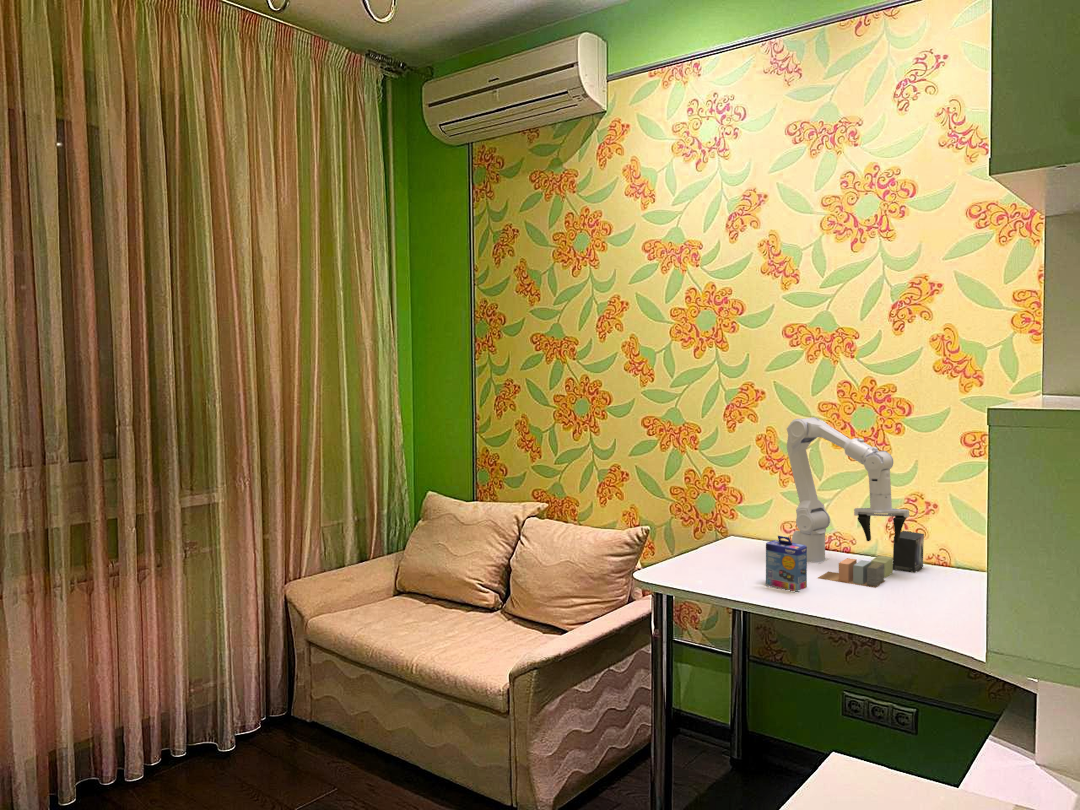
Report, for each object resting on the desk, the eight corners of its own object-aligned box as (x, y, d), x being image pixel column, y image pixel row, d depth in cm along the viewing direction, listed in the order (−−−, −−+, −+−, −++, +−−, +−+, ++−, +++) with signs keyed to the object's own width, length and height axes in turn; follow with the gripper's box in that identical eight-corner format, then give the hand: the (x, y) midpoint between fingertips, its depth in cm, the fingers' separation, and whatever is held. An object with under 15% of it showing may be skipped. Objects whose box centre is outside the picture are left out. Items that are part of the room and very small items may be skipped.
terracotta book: (838, 580, 231) (838, 562, 230) (847, 575, 236) (847, 558, 236) (847, 582, 229) (848, 564, 229) (856, 576, 235) (856, 559, 234)
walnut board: (816, 580, 234) (817, 578, 234) (828, 573, 241) (828, 571, 240) (875, 589, 224) (875, 587, 223) (885, 582, 231) (885, 580, 230)
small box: (915, 575, 238) (916, 539, 237) (891, 571, 242) (892, 536, 241) (924, 567, 246) (925, 532, 246) (901, 564, 250) (901, 530, 250)
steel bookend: (866, 585, 226) (867, 567, 226) (874, 579, 231) (875, 562, 231) (875, 586, 224) (876, 568, 224) (883, 581, 230) (884, 563, 230)
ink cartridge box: (764, 586, 228) (764, 534, 227) (774, 582, 232) (775, 531, 231) (797, 593, 221) (797, 539, 220) (807, 589, 225) (808, 536, 224)
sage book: (870, 577, 236) (870, 560, 236) (878, 572, 241) (878, 555, 241) (885, 580, 233) (885, 562, 233) (892, 575, 239) (892, 557, 239)
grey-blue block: (853, 583, 228) (853, 565, 228) (861, 577, 234) (861, 560, 233) (862, 584, 227) (863, 566, 226) (870, 579, 232) (871, 561, 232)
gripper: (850, 495, 238) (852, 542, 238) (904, 496, 229) (906, 545, 229) (856, 492, 244) (859, 538, 244) (909, 493, 235) (912, 540, 235)
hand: (882, 541), depth 237 cm, fingers open, 7 cm apart
